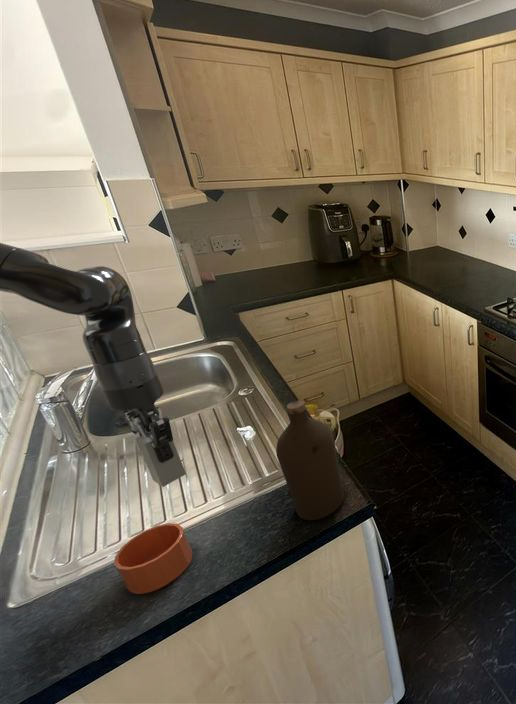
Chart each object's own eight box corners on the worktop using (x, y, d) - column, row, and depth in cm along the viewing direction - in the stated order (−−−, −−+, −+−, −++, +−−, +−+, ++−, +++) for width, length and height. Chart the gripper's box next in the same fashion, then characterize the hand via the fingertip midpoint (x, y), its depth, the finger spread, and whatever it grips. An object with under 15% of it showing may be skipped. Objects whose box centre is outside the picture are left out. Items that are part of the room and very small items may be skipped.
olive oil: (356, 488, 92) (335, 392, 83) (327, 526, 82) (300, 422, 73) (315, 482, 94) (290, 388, 85) (282, 519, 84) (250, 417, 75)
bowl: (141, 603, 68) (128, 578, 66) (117, 579, 73) (104, 555, 70) (202, 558, 76) (192, 535, 74) (177, 539, 80) (167, 516, 78)
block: (162, 487, 78) (144, 444, 74) (153, 480, 80) (134, 438, 76) (186, 474, 81) (170, 432, 78) (176, 468, 83) (160, 427, 80)
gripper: (85, 379, 73) (120, 457, 79) (119, 397, 66) (155, 480, 72) (136, 362, 79) (166, 435, 85) (172, 377, 72) (201, 455, 78)
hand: (161, 455), depth 79 cm, fingers closed on block, 4 cm apart
